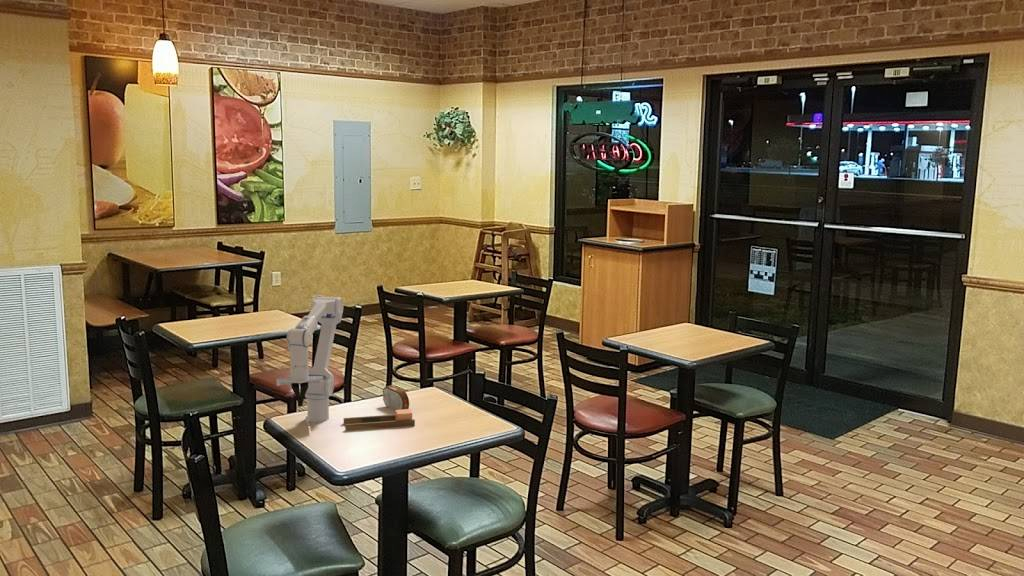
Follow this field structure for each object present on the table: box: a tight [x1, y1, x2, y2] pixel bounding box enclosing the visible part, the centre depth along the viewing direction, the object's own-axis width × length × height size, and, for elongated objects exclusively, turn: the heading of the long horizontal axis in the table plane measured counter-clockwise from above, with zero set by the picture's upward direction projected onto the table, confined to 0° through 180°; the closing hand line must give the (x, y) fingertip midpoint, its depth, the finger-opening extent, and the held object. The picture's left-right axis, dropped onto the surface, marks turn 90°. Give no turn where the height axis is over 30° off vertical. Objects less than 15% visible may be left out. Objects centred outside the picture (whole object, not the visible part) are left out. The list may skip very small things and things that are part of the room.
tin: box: [382, 384, 410, 410], centre depth 297 cm, size 15×3×8 cm, turn 39°
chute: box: [343, 414, 416, 432], centre depth 277 cm, size 8×23×3 cm, turn 107°
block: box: [394, 408, 413, 421], centre depth 279 cm, size 5×5×4 cm
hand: (300, 405), depth 267 cm, fingers closed
